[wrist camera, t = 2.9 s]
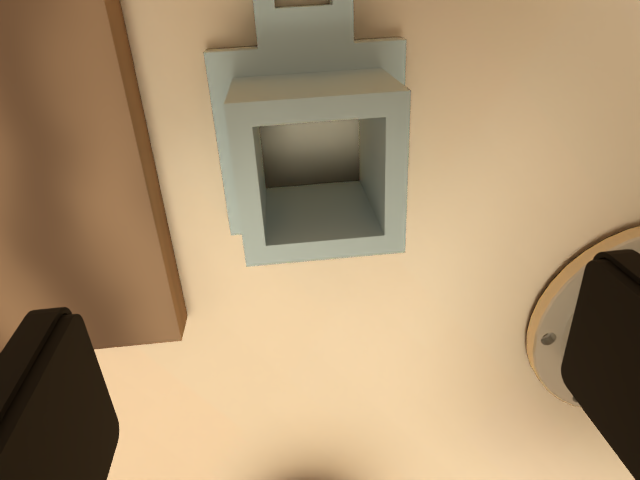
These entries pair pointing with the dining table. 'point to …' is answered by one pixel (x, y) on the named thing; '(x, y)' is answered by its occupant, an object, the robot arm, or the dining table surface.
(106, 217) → the post board
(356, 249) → the grey bracket housing
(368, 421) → the dining table surface
